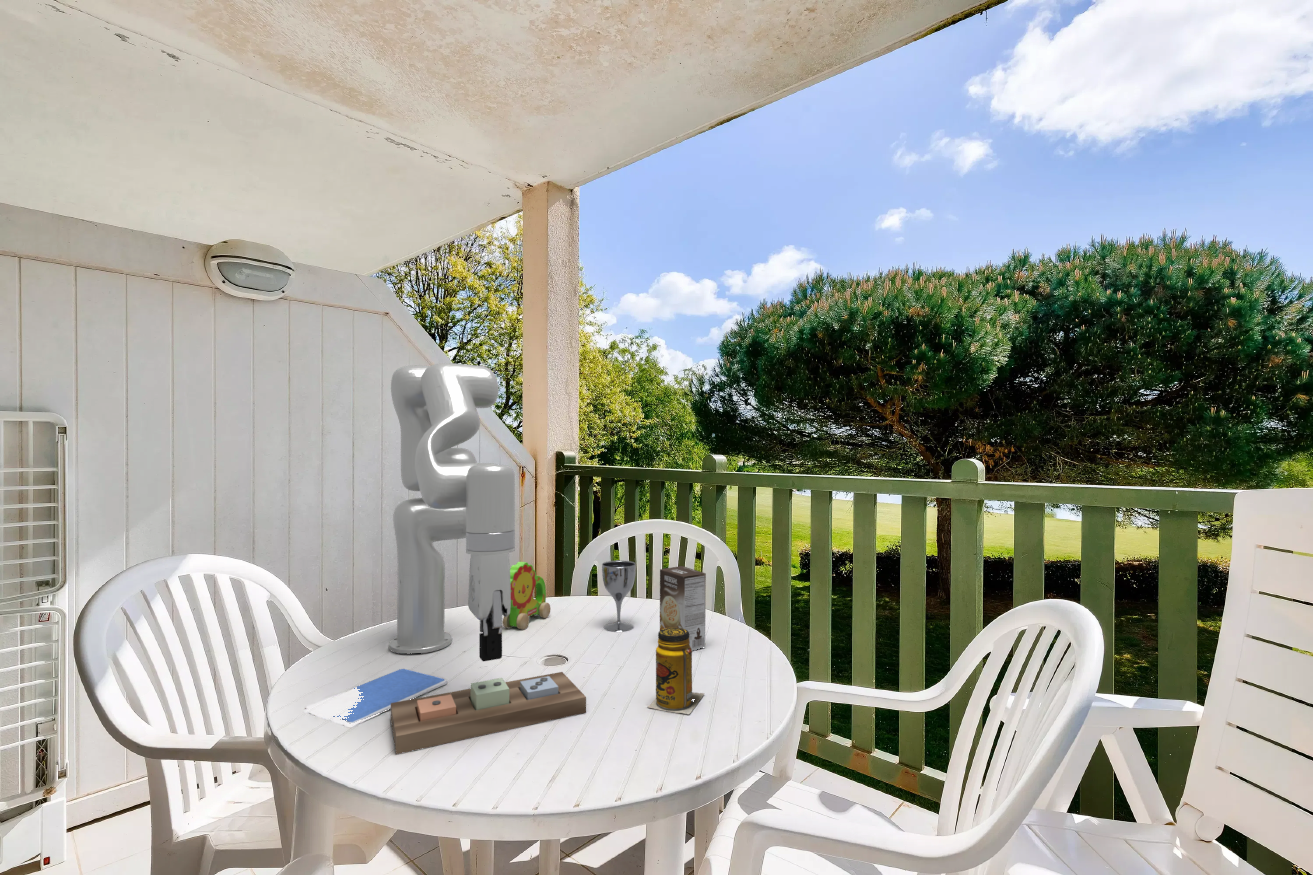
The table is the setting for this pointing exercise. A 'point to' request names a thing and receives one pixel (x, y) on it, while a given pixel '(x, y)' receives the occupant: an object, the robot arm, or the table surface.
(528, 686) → the button three dots
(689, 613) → the coffee box
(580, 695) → the button board
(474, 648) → the table surface
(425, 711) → the button one dot
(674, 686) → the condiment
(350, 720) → the blue rectangular pad
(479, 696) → the button two dots
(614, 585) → the wine glass
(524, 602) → the green wooden toy car
